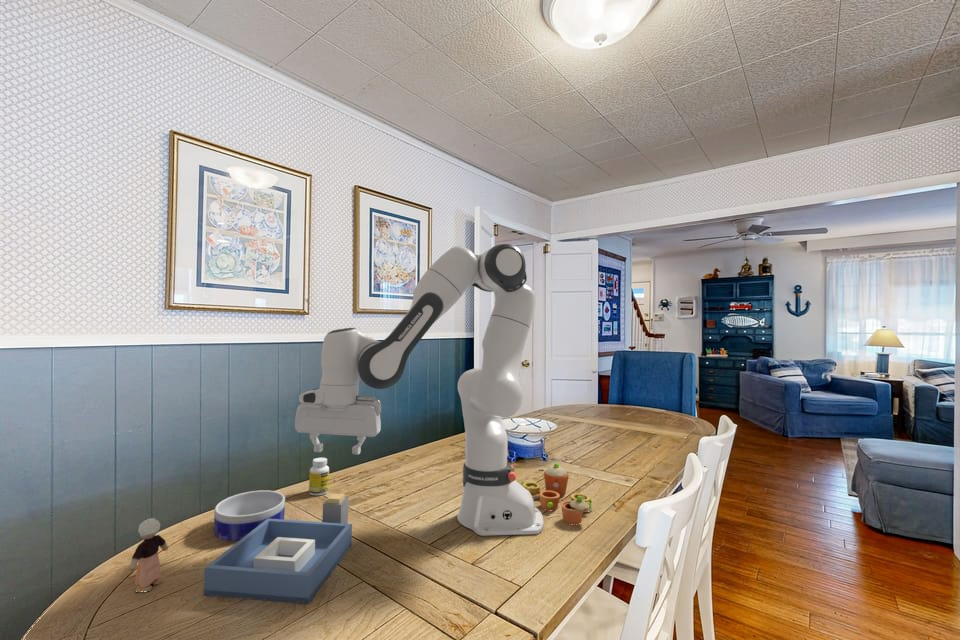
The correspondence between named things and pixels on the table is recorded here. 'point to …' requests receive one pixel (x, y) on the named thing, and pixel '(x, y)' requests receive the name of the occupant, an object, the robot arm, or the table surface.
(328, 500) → the connector plug
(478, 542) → the table surface
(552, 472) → the toy tea set
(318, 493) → the supplement bottle
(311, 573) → the walled tray
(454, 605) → the table surface
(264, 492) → the dog bowl
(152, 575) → the grandmother figurine
